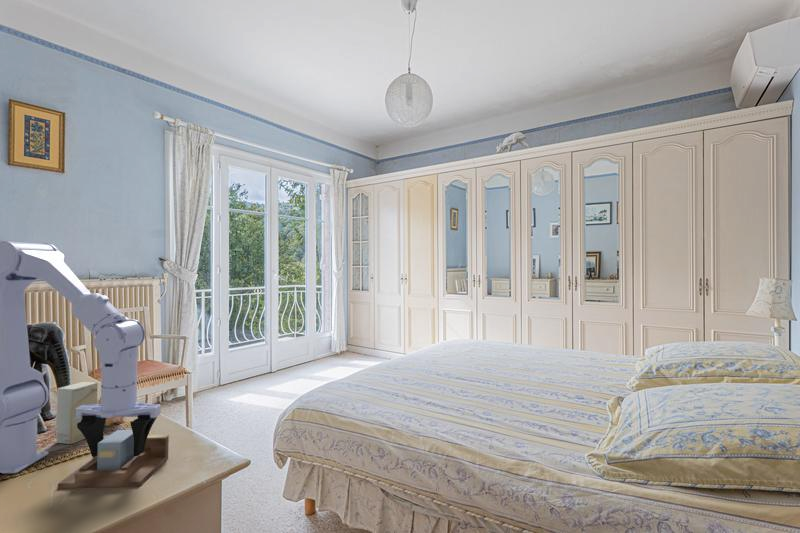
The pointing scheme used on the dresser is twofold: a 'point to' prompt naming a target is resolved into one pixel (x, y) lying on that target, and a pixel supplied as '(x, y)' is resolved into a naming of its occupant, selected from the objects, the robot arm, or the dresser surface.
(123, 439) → the cabinet block
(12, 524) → the dresser surface
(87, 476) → the rack
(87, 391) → the skincare box
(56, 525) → the dresser surface
